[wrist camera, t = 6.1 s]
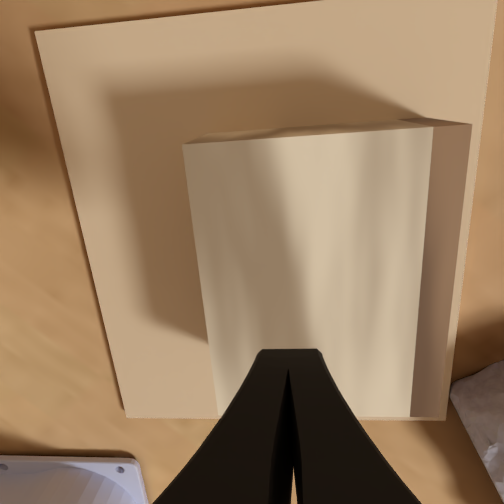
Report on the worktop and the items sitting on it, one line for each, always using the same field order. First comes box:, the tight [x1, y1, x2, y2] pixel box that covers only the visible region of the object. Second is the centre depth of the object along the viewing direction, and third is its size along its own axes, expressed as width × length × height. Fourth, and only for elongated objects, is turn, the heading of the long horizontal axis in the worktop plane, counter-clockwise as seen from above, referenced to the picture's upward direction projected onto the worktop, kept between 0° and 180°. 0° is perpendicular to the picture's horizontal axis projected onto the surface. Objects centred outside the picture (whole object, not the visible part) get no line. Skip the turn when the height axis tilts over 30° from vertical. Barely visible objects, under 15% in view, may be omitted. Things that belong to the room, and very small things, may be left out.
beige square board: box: [34, 0, 498, 421], centre depth 17 cm, size 16×18×1 cm
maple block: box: [182, 117, 472, 417], centre depth 15 cm, size 4×10×8 cm
